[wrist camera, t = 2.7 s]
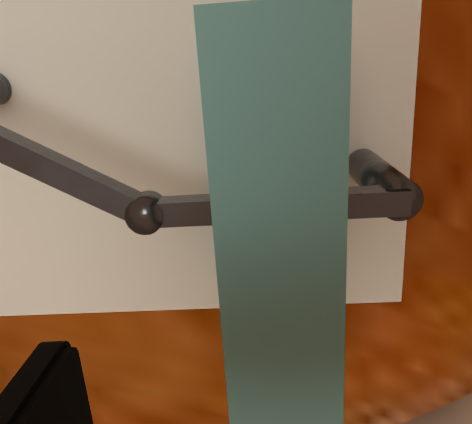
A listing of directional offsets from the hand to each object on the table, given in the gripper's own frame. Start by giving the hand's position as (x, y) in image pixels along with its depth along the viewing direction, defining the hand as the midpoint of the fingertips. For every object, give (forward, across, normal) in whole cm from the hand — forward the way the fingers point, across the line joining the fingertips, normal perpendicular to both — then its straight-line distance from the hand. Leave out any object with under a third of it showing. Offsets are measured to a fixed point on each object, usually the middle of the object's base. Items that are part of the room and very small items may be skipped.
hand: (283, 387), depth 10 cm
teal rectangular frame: (+19, 0, -1) cm, 19 cm away
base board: (+21, +6, -3) cm, 22 cm away
